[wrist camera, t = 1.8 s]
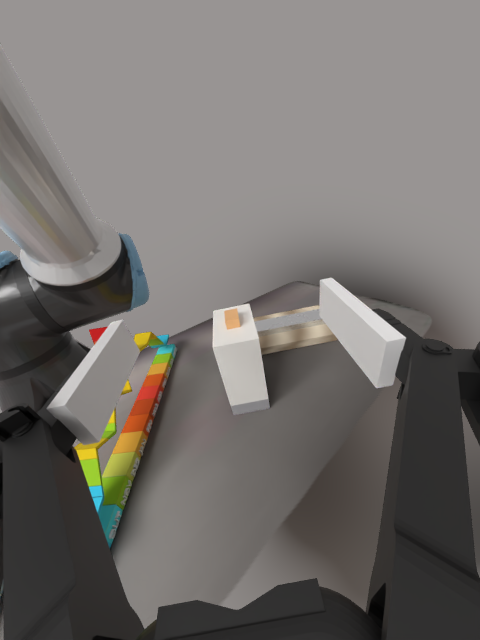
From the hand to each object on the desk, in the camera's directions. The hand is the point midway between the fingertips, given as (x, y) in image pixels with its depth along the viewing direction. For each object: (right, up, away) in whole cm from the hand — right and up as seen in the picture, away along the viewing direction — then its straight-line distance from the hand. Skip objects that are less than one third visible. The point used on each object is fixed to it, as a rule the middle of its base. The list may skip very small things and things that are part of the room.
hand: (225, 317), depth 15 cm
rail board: (+11, -2, +28) cm, 30 cm away
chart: (-12, -15, +17) cm, 26 cm away
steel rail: (+11, -1, +27) cm, 30 cm away
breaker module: (+2, -10, +18) cm, 21 cm away
